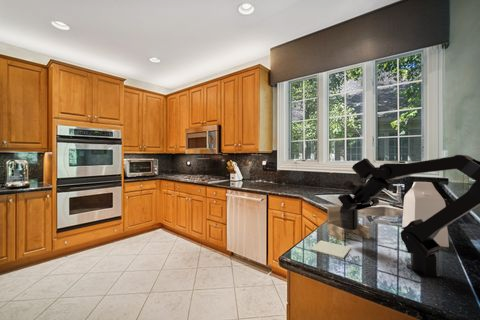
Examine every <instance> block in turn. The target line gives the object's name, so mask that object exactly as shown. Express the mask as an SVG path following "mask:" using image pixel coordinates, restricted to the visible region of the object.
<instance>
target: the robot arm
mask: <svg viewBox="0 0 480 320" xmlns="http://www.w3.org/2000/svg"><path fill="white" fill-rule="evenodd" d="M351 170H352V171H353V172H355V174H357V176H358V177H359V178H360V179H361V180H366V182H365V183H363V184H362V183H360V182H359V181H357V180H355V179H346V180H345V181H343V187H344V188H345V189H348V190H349V191H351V194H352V195H351V194H350V193H341V194H339V196H338V197H337V199H338V200H339V201H340V203H341V206H342V207H341V209H340V213H341V214H342V213H345V212H348V211H352V210H355V208H356V207H357V208H358V211H361V210H365V209H368V208H372V207H376V206H377V205H379V203H380V199H378V197H379V194H380V193H382V191H384V190H385V191H394V190H395V188H394V183H393V182H389V181H388V180H399V179H402V178H406V177H409V176H413V175H415V174H416V175H417V174H418V175H419V174H425V173H427V174H428V173H432V172H443V171H451V170H456V171H457V170H458V171H459V172H461V173H463V174H464V175H465V176H466V177H468V178H470V179H471V180H474V182H472V184H471V185H470V187H469V188H468V190H467V191H466V192H465V193H463V194H462V195H461V196H459V197H458V198H457V199H455V200H453V201H451V202H450V203H449V204H448V205H446V207H445V208H443V209H442V210H440V211H439V212H437V213H436V214H434V215H433V216H431V217H430V218H429V219H427V220H426V221H424V222H423V221H422V219H419V220H414V221H411V222H410V223H409V224H408V225H407V226H406V227H403V228H402V227H401V232H400V238H401V240H402V242H403V243H404V246H405V248H406V250H407V252H408V253H410V264H406V265H405V266H406V267H407V268H408V269H409V270H410V271H412V272H413V273H414V274H416V275H417V276H419V277H425V278H438V279H439V278H440V279H441V278H442V279H443V276H444V275H442V274H440V273H439V272H437V271H438V267H437V265H438V262H437V261H438V260H437V259H438V258H437V256H436V255H437V253H439V252H440V250H441V249H442V246H440V245H439V244H438V243H437V242H436V241H435V240H434V239H433V238H434V237H435V236H436V235H437V234H438V232H439V231H440V230H441V229H443V228H444V227H446V226H447V227H448V226H449V225H451V224H453V222H455V221H457V220H459V219H460V218H462V217H463V216H465V215H467V214H468V213H470V212H471V211H473V210H474V209H477V208H478V207H479V206H480V160H477V159H475V158H473V157H471V156H470V155H466V154H456V155H451V156H449V157H448V156H447V157H441V158H434V159H429V160H428V159H427V160H421V161H414V162H409V163H404V162H403V163H398V162H397V163H395V162H394V163H389V162H388V163H387V162H386V163H382V164H380V165H379V167H377V166H376V167H375V165H373V163H371V161H370V160H369V159H368V158H362V159H361V160H359V161H357V162H356V163H354V164H353V165H352V167H351ZM352 196H353V197H352ZM402 229H404V230H402Z"/></svg>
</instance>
